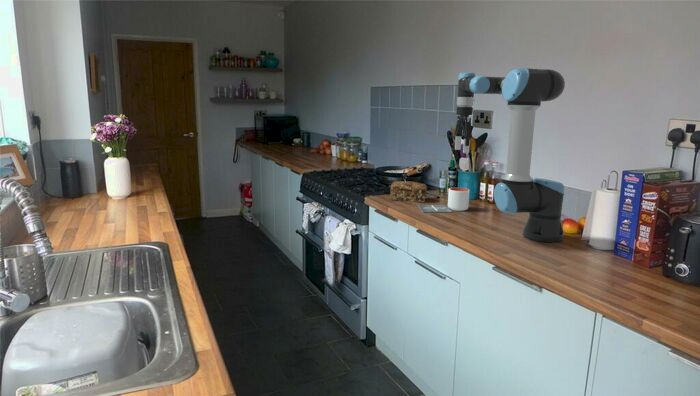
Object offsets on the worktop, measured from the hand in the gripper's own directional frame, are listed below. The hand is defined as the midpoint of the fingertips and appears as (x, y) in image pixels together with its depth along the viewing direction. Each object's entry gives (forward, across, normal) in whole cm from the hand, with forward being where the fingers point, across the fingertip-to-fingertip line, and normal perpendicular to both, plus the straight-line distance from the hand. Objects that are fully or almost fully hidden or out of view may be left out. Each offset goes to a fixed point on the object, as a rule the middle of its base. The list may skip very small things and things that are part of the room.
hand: (461, 151), depth 226 cm
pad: (+29, -1, +12) cm, 31 cm away
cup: (+29, 0, 0) cm, 29 cm away
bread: (+29, +21, +21) cm, 41 cm away
